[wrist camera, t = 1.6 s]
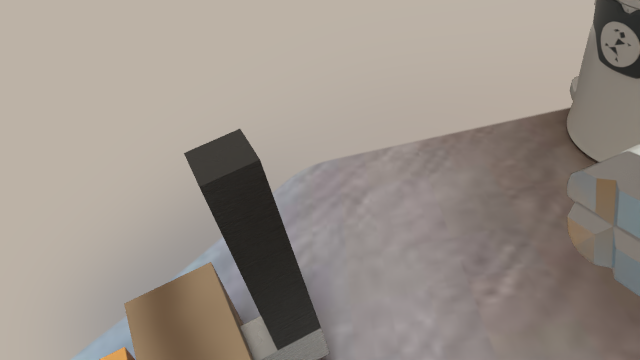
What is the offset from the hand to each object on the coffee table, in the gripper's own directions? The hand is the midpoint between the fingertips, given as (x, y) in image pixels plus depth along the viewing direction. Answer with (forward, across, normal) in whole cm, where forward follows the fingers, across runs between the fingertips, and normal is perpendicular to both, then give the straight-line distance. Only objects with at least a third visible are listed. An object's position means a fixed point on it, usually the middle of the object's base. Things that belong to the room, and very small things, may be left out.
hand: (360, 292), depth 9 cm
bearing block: (+22, +5, +26) cm, 34 cm away
